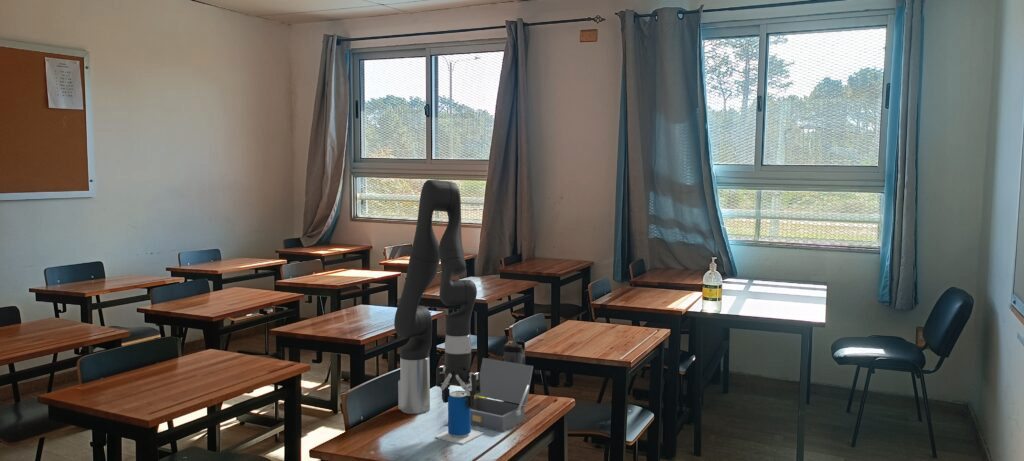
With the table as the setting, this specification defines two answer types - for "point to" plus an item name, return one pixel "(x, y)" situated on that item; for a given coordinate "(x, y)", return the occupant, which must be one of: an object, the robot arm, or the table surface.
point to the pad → (459, 440)
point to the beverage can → (458, 414)
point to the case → (501, 395)
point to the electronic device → (514, 353)
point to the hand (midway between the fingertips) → (457, 404)
